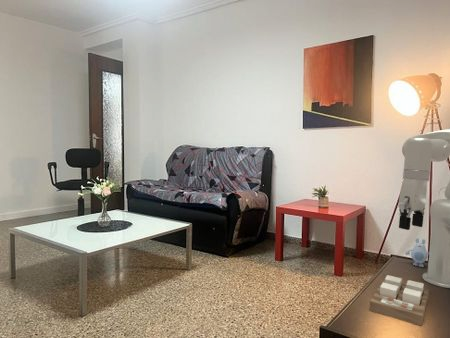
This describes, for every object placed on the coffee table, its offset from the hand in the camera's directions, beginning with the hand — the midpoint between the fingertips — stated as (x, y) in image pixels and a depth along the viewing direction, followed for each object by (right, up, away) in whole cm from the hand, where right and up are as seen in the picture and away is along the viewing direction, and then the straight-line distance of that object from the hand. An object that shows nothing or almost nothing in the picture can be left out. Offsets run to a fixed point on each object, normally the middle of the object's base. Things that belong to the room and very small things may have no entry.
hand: (410, 227), depth 112 cm
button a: (-4, -21, +4) cm, 22 cm away
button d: (-3, -22, -6) cm, 23 cm away
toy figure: (+22, -23, +34) cm, 46 cm away
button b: (+2, -22, +1) cm, 22 cm away
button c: (-8, -21, -2) cm, 23 cm away
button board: (-5, -24, -2) cm, 25 cm away
